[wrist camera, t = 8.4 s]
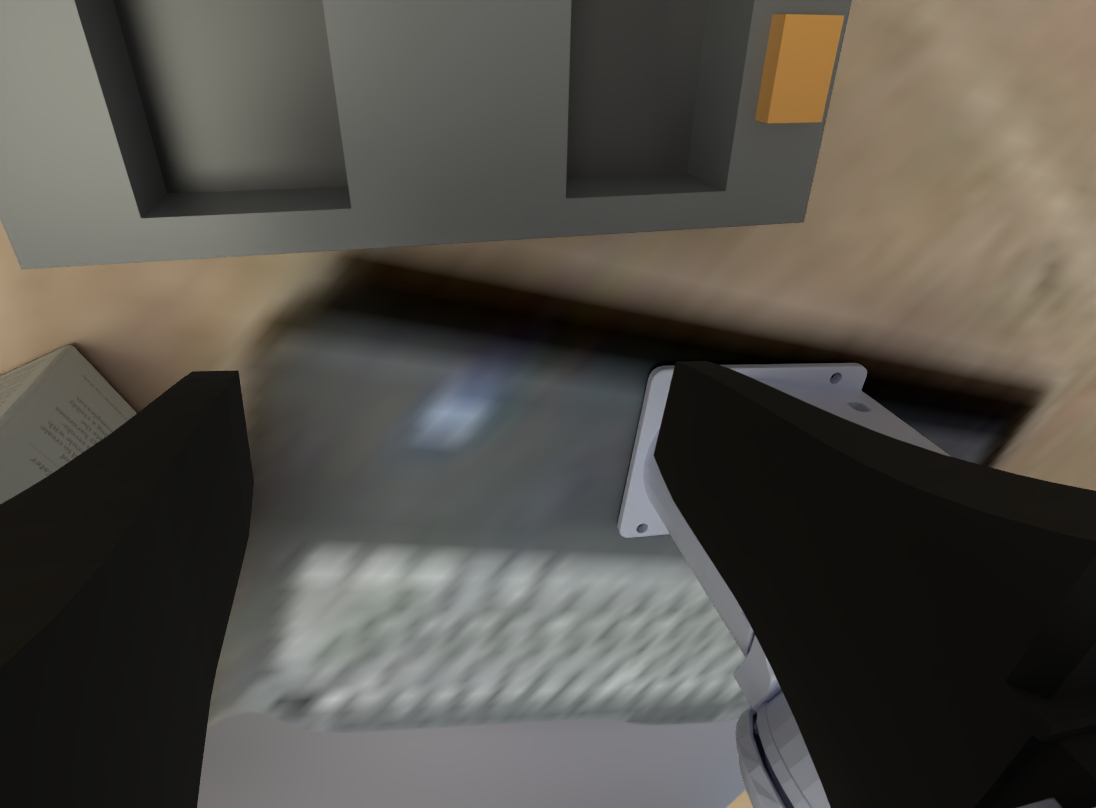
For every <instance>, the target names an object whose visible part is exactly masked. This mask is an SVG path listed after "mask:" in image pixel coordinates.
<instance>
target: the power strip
mask: <svg viewBox="0 0 1096 808" xmlns="http://www.w3.org/2000/svg"><path fill="white" fill-rule="evenodd" d="M851 1H852V0H0V219H1V221H2V224H3V226H4V228H5V231H6V233H7V236H8V238H9V240H10V243H11V245H12V248H13V250H14V252H15V255H16V257H17V260H18V262H19V264H20V267H21V269H37V268H54V267H70V266H87V265H103V264H120V263H137V262H153V261H170V260H186V259H203V258H219V257H236V256H253V255H269V254H286V253H302V252H319V251H335V250H352V249H369V248H385V247H402V246H418V245H435V244H452V243H468V242H485V241H501V240H518V239H534V238H551V237H568V236H584V235H601V234H617V233H634V232H650V231H667V230H684V229H700V228H717V227H733V226H750V225H766V224H783V223H800V222H804V219H805V214H806V209H807V205H808V200H809V195H810V191H811V186H812V182H813V177H814V172H815V168H816V163H817V158H818V154H819V149H820V145H821V140H822V135H823V131H824V126H825V121H826V117H827V112H828V107H829V103H830V98H831V94H832V89H833V84H834V80H835V75H836V70H837V66H838V61H839V57H840V52H841V47H842V43H843V38H844V33H845V29H846V24H847V19H848V15H849V10H850V6H851Z"/></svg>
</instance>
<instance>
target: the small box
mask: <svg viewBox="0 0 1096 808" xmlns="http://www.w3.org/2000/svg"><path fill="white" fill-rule="evenodd" d="M136 414H137V413H136V412H135V411H134V410H133V409H132V408H131V406H130V405H129V404H128V403H127V402H126V401H125V400H124V399H123V398H122V397H121V396H120V395H119V394H118V393H117V392H116V391H115V390H114V389H113V388H112V387H111V385H110V384H109V383H108V382H107V381H106V380H105V379H104V378H103V377H102V376H101V375H100V374H99V373H98V371H97V370H96V369H95V368H94V367H93V366H92V365H91V364H90V363H89V362H88V361H87V360H86V359H85V358H84V357H83V356H82V355H81V354H80V352H79V351H78V350H77V349H76V348H75V347H73V346H72V345H67V346H64V347H62V348H60V349H58V350H56V351H54V352H52V353H50V354H47V355H45V356H43V357H41V358H38V359H36V360H34V361H32V362H30V363H28V364H26V365H23V366H21V367H19V368H16V369H14V370H12V371H10V372H8V373H6V374H4V375H2V376H0V504H2V503H3V502H5V501H7V500H9V499H11V498H12V497H14V496H16V495H17V494H19V493H21V492H22V491H24V490H26V489H28V488H29V487H31V486H33V485H34V484H36V483H37V482H39V481H41V480H42V479H44V478H46V477H47V476H49V475H50V474H52V473H53V472H55V471H56V470H58V469H59V468H61V467H62V466H64V465H65V464H67V463H68V462H70V461H71V460H73V459H74V458H75V457H77V456H78V455H80V454H81V453H83V452H84V451H86V450H87V449H89V448H90V447H92V446H93V445H95V444H96V443H98V442H99V441H101V440H102V439H104V438H105V437H107V436H108V435H109V434H111V433H112V432H113V431H115V430H116V429H117V428H119V427H120V426H121V425H123V424H124V423H125V422H127V421H128V420H129V419H131V418H132V417H133V416H135V415H136Z"/></svg>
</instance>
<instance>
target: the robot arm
mask: <svg viewBox="0 0 1096 808" xmlns="http://www.w3.org/2000/svg"><path fill="white" fill-rule="evenodd" d="M835 373H836V374H835ZM833 374H835V375H834V377H832V375H833ZM866 376H867V370H866V369H865V368H864V367H863V366H862V365H860V364H858V363H814V364H746V365H718V364H715V363H711V362H708V361H682V362H676V363H675V366H660V367H657V368H655V369H654V370H653V371H652V372H651V373H650V375H649V378H648V383H647V387H646V392H645V397H644V401H643V406H642V411H641V416H640V420H639V425H638V430H637V434H636V439H635V444H634V449H633V453H632V458H631V463H630V467H629V472H628V477H627V482H626V486H625V491H624V496H623V501H622V505H621V510H620V515H619V519H618V524H617V528H618V530H619V532H620V534H621V536H623V537H626V538H631V537H642V536H652V535H663V534H670V535H671V537H672V538H673V540H674V542H675V543H676V545H677V546H678V548H679V550H680V551H681V553H682V555H683V556H684V558H685V559H686V561H687V563H688V564H689V566H690V568H691V569H692V571H693V573H694V574H695V576H696V577H697V579H698V581H699V582H700V584H701V586H702V587H703V589H704V590H705V592H706V594H707V595H708V597H709V599H710V600H711V602H712V603H713V605H714V607H715V608H716V610H717V612H718V613H719V615H720V617H721V618H722V620H723V621H724V623H725V625H726V626H727V628H728V630H729V631H730V633H731V634H732V636H733V638H734V639H735V641H736V643H737V644H738V646H739V648H740V649H741V651H742V652H743V654H744V656H745V657H746V658H745V660H744V661H743V662H742V664H741V665H740V666H739V667H738V668H737V669H736V670H735V671H734V672H733V676H734V677H735V679H736V681H737V683H738V684H739V686H740V688H741V689H742V691H743V693H744V695H745V696H746V698H747V700H748V702H749V703H750V705H751V707H750V708H748V709H747V710H746V711H745V712H744V713H742V714H741V716H740V718H739V720H738V722H737V726H736V742H737V750H738V754H739V765H740V771H741V775H742V778H743V782H744V785H745V788H746V791H747V793H748V796H749V798H750V801H751V803H752V805H753V807H754V808H1096V491H1093V490H1088V489H1082V488H1077V487H1072V486H1067V485H1062V484H1057V483H1052V482H1048V481H1043V480H1039V479H1034V478H1030V477H1026V476H1021V475H1017V474H1013V473H1009V472H1005V471H1001V470H998V469H994V468H990V467H986V466H982V465H979V464H975V463H971V462H967V461H964V460H960V459H957V458H954V457H951V456H950V455H949V454H947V453H946V452H944V451H943V450H942V449H940V448H939V447H938V446H936V445H935V444H934V443H932V442H931V441H929V440H928V439H927V438H925V437H924V436H923V435H921V434H920V433H919V432H917V431H916V430H914V429H913V428H912V427H910V426H909V425H908V424H906V423H905V422H904V421H902V420H901V419H900V418H898V417H897V416H895V415H894V414H893V413H891V412H890V411H889V410H887V409H886V408H885V407H883V406H882V405H880V404H879V403H878V402H876V401H875V400H874V399H872V398H871V397H870V396H868V395H867V394H865V393H864V392H863V391H861V389H862V387H863V384H864V382H865V379H866ZM831 377H832V378H831ZM830 378H831V379H830ZM670 382H671V383H670ZM253 485H254V480H253V473H252V466H251V459H250V451H249V444H248V437H247V430H246V423H245V415H244V408H243V401H242V394H241V387H240V379H239V372H238V371H198V372H191V373H190V374H188V375H187V376H185V377H184V378H182V379H181V380H180V381H178V382H177V383H176V384H175V385H173V386H172V387H171V388H169V389H168V390H167V391H166V392H164V393H163V394H162V395H160V396H159V397H158V398H157V399H155V400H154V401H153V402H152V403H150V404H149V405H148V406H146V407H145V408H144V409H142V410H141V411H140V412H138V413H137V414H136V415H135V416H133V417H132V418H131V419H129V420H128V421H127V422H125V423H124V424H123V425H121V426H120V427H119V428H117V429H116V430H115V431H113V432H112V433H111V434H109V435H108V436H107V437H105V438H104V439H102V440H101V441H99V442H98V443H96V444H95V445H93V446H92V447H90V448H89V449H87V450H86V451H84V452H83V453H81V454H80V455H78V456H77V457H75V458H74V459H73V460H71V461H70V462H68V463H67V464H65V465H64V466H62V467H61V468H59V469H58V470H56V471H55V472H53V473H52V474H50V475H49V476H47V477H46V478H44V479H42V480H41V481H39V482H37V483H36V484H34V485H33V486H31V487H29V488H28V489H26V490H24V491H22V492H21V493H19V494H17V495H16V496H14V497H12V498H11V499H9V500H7V501H5V502H3V503H2V504H0V808H197V802H198V794H199V785H200V777H201V768H202V761H203V753H204V746H205V738H206V730H207V723H208V715H209V707H210V700H211V695H212V689H213V684H214V679H215V674H216V669H217V665H218V661H219V657H220V653H221V649H222V644H223V640H224V636H225V632H226V628H227V624H228V620H229V616H230V612H231V608H232V604H233V600H234V596H235V592H236V588H237V584H238V579H239V575H240V571H241V567H242V563H243V559H244V554H245V550H246V546H247V541H248V537H249V527H250V518H251V508H252V496H253ZM643 523H644V524H643ZM640 524H643V525H642V526H640V527H638V526H639V525H640Z"/></svg>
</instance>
